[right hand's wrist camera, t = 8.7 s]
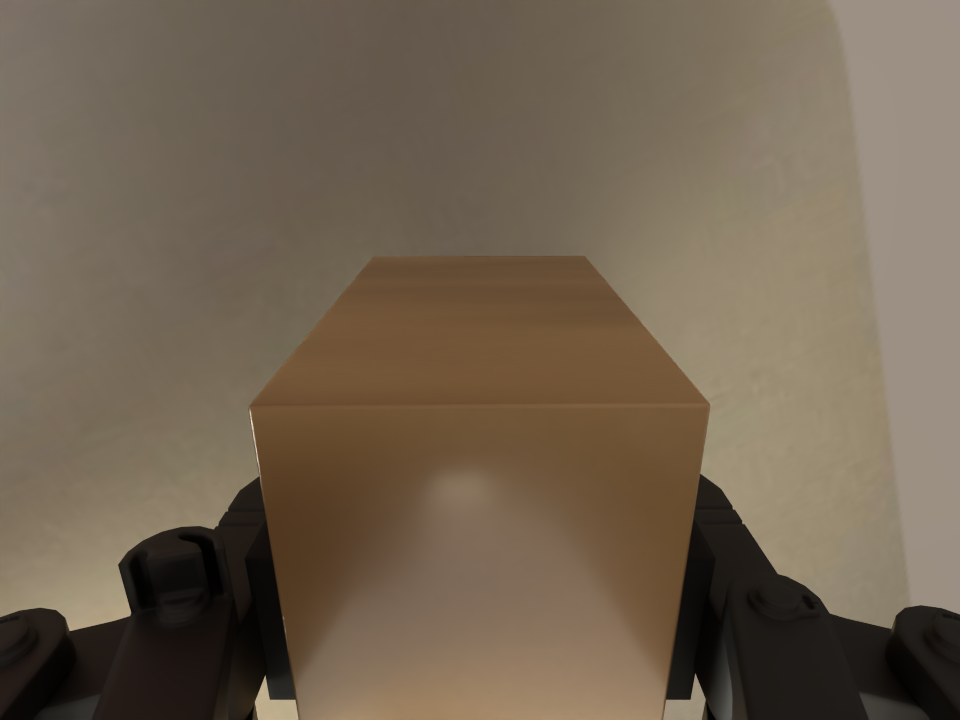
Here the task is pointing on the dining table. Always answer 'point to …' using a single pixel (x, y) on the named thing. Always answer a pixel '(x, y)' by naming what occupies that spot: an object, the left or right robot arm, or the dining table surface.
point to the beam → (479, 496)
